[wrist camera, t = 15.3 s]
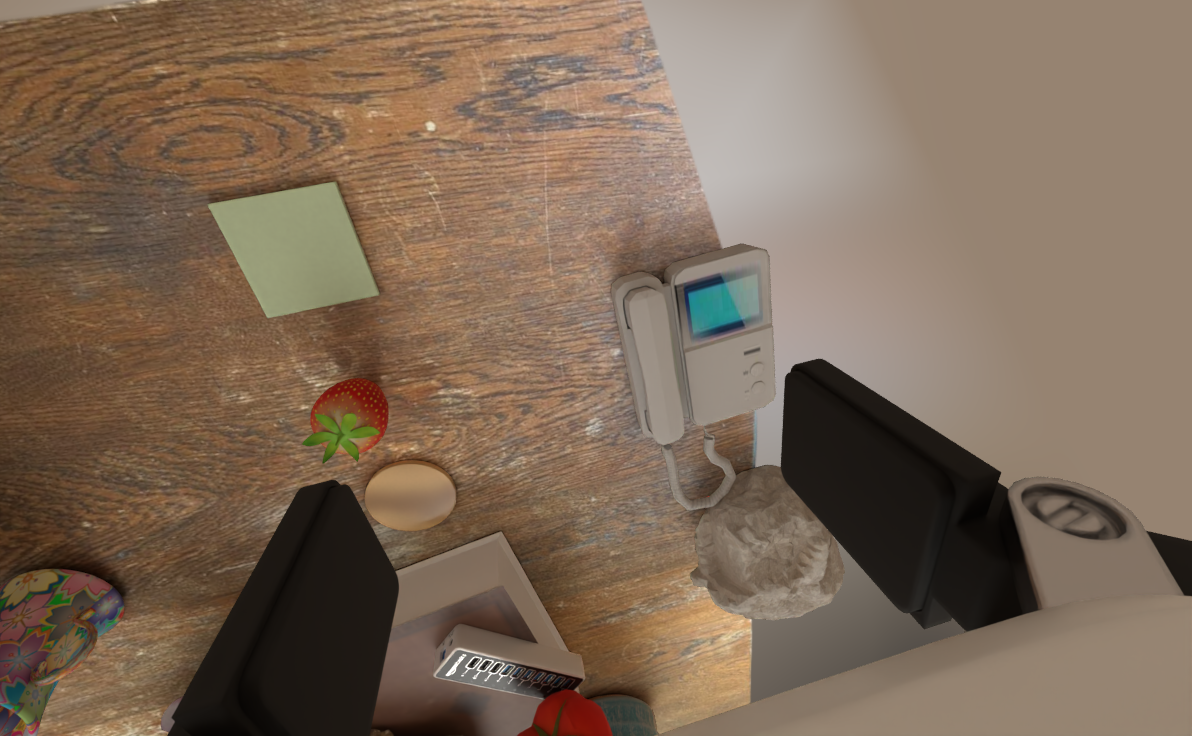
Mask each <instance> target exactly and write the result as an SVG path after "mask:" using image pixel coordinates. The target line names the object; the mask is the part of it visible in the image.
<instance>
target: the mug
mask: <svg viewBox="0 0 1192 736" xmlns="http://www.w3.org/2000/svg"><path fill="white" fill-rule="evenodd" d="M123 614H124V601H123V598H122V596H121V595H120V593H119V592H118V591H117V590H116V589H115V588H114V587H113V586H112V585H110V584H109V583H107V582H106V581H104V580H102V579H100V578H98V577H96V576H93V575H90V574H87V573H84V572H79V571H74V570H67V569H42V570H35V571H31V572H27V573H24V574H21V575H18V576H16V577H14V578H12V579H10V580H8V581H7V582H5V583H4V584H3V585H2V586H1V587H0V736H37V733H38V730H39V726H40V722H41V718H42V715H43V713H44V710H45V707H46V705H47V703H48V700H49V698H50V696H51V694H52V692H53V690H54V688H55V687H56V685H57V683H58V681H59V680H60V679H62V678H63V677H65V676H67V675H68V674H70V673H71V672H72V671H74V670H75V669H76V668H77V667H78V666H80V665H81V664H82V663H83V662H84V661H85V660H86V658H87V657H88V656H89V655H90V653H91V652H92V650H93V649H94V647H95V644H96V642H97V638H98V637H99V636H101V635H102V634H104V633H106V632H108V631H109V630H111V629H112V628H113V627H115V626H116V625H117V624H118V623H119V621H120V620H121V618H122V616H123Z"/></svg>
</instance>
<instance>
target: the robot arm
mask: <svg viewBox="0 0 1192 736" xmlns="http://www.w3.org/2000/svg"><path fill="white" fill-rule="evenodd" d="M781 472H782V475H783V478H784V480H785V481H786V483H787V484H788V485H789V486H790V488H791V489H792V490H793V491H794V492H795V493H796V494H797V495H798V497H799V498H800V499H801V500H802V501H803V502H804V503H805V505H806V506H807V507H808V508H809V509H810V510H811V511H812V512H813V514H814V515H815V516H816V517H817V518H818V519H819V520H820V522H821V523H822V524H823V525H824V526H825V527H826V528H827V529H828V531H829V532H830V533H831V534H832V535H833V536H834V537H835V539H836V540H837V541H838V542H839V543H840V544H841V545H842V546H843V548H844V549H845V550H846V551H847V552H848V553H849V554H850V555H851V557H852V558H853V559H854V560H855V561H856V562H857V563H858V565H859V566H860V567H861V568H862V569H863V570H864V571H865V572H866V574H867V575H868V576H869V577H870V578H871V579H872V580H873V582H874V583H875V584H876V585H877V586H878V587H879V588H880V589H881V591H882V592H883V593H884V594H885V595H886V596H887V597H888V599H890V601H891V602H892V603H893V604H894V605H895V606H896V607H897V608H898V609H899V610H900V611H902V612H904V613H910V614H911V615H912V616H913V617H914V618H915V620H916V621H917V622H918V623H919V624H920V625H921V626H922V627H923V628H924V629H927V628H930V627H933V626H936V625H938V624H942V623H945V622H948V621H951V619H952V618H953V619H955V621H956V622H957V623H958V624H959V625H960V626H961V627H962V628H963V629H964V633H962V634H959V635H956V636H953V637H950V638H946V639H943V640H940V641H936V642H933V643H930V644H927V645H924V646H921V647H918V648H915V649H912V650H910V651H906V652H903V653H900V654H897V655H895V656H891V657H888V658H885V659H882V660H879V661H876V662H873V663H870V664H867V665H864V666H861V667H858V668H855V669H852V670H849V671H846V672H843V673H840V674H838V675H834V676H831V677H828V678H825V679H822V680H819V681H816V682H813V683H810V684H807V685H804V686H801V687H798V688H795V689H792V690H789V691H786V692H783V693H780V694H777V695H774V696H771V697H768V698H765V699H763V700H760V701H757V702H753V703H750V704H747V705H744V706H741V707H738V708H735V709H733V710H730V711H727V712H724V713H721V714H718V715H715V716H712V717H709V718H706V719H703V720H700V721H697V722H694V723H691V724H688V725H685V726H682V727H679V728H676V729H673V730H670V731H667V732H665V733H662V734H659V735H656V736H1192V541H1188V540H1184V539H1180V538H1176V537H1171V536H1167V535H1162V534H1157V533H1153V532H1148V531H1146V530H1145V529H1144V527H1143V525H1142V524H1141V522H1140V521H1139V520H1138V519H1137V517H1136V516H1135V515H1134V514H1133V513H1132V512H1131V511H1130V510H1129V509H1128V508H1126V507H1125V506H1124V505H1122V504H1121V503H1119V502H1118V501H1117V500H1115V499H1113V498H1111V497H1109V496H1108V495H1105V494H1104V493H1102V492H1100V491H1098V490H1095V489H1093V488H1090V487H1087V486H1084V485H1082V484H1079V483H1076V482H1071V481H1067V480H1063V479H1058V478H1048V477H1032V478H1024V479H1021V480H1019V481H1016V482H1014V483H1013V485H1012V486H1011V487H1010V488H1009V489H1007V488H1006V487H1004V486H1003V485H1001V484H1000V483H998V480H999V477H1000V475H1001V472H1000V471H998V470H996V469H995V468H994V467H992V466H990V465H989V464H987V463H986V462H984V461H983V460H981V459H979V458H978V457H976V456H975V455H973V454H971V453H970V452H968V451H967V450H965V449H964V448H962V447H961V446H959V445H957V444H956V443H954V442H953V441H951V440H949V439H948V438H946V437H945V436H943V435H942V434H940V433H939V432H937V431H935V430H934V429H932V428H931V427H929V426H928V425H926V424H924V423H923V422H921V421H920V420H918V419H916V418H915V417H913V416H911V415H910V414H909V413H907V412H906V411H904V410H902V409H901V408H899V407H898V406H896V405H895V404H893V403H891V402H890V401H888V400H887V399H885V398H883V397H882V396H880V395H879V394H877V393H876V392H874V391H873V390H871V389H869V388H868V387H866V386H865V385H863V384H862V383H860V382H858V381H857V380H855V379H854V378H852V377H850V376H849V375H847V374H846V373H844V372H843V371H841V370H839V369H838V368H836V367H835V366H833V365H832V364H830V363H828V362H827V361H825V360H823V359H816V360H811V361H808V362H803V363H800V364H795V365H794V366H793V367H792V369H791V372H790V373H788V374H787V375H786V377H785V389H784V410H783V432H782V453H781ZM398 594H399V581H398V576H397V574H396V572H395V570H394V568H393V566H392V564H391V562H390V561H389V559H388V557H387V555H386V553H385V551H384V549H383V548H382V546H381V544H380V542H379V540H378V538H377V536H376V534H375V533H374V531H373V529H372V527H371V525H370V523H369V521H368V520H367V518H366V516H365V514H364V512H363V510H362V508H361V507H360V505H359V503H358V501H357V499H356V497H355V495H354V493H353V492H352V490H351V488H350V487H349V486H348V485H345V484H344V485H340V484H339V483H338V482H337V481H336V480H330V481H326V482H322V483H318V484H314V485H310V486H306V487H303V488H301V489H300V490H299V491H298V492H297V494H296V495H295V497H294V499H293V501H292V503H291V504H290V506H289V508H288V510H287V511H286V513H285V515H284V517H283V519H282V520H281V522H280V524H279V526H278V528H277V529H276V531H275V533H274V535H273V537H272V538H271V540H270V542H269V544H268V545H267V547H266V549H265V551H264V553H263V554H262V556H261V558H260V560H259V562H258V563H257V565H256V567H255V569H254V571H253V572H252V574H251V576H250V578H249V579H248V581H247V583H246V585H245V587H244V588H243V590H242V592H241V594H240V596H239V597H238V599H237V601H236V603H235V604H234V606H233V608H232V610H231V612H230V613H229V615H228V617H227V619H226V621H225V622H224V624H223V626H222V628H221V630H220V631H219V633H218V635H217V637H216V638H215V640H214V642H213V644H212V646H211V647H210V649H209V651H208V653H207V655H206V656H205V658H204V660H203V662H202V664H201V665H200V667H199V669H198V671H197V672H196V674H195V676H194V678H193V680H192V681H191V683H190V685H189V687H188V689H187V690H186V692H185V694H184V696H183V697H182V699H181V701H180V703H179V705H178V706H177V708H176V710H175V712H174V714H173V715H172V717H171V718H172V719H173V720H174V721H175V722H174V724H173V726H172V728H171V730H170V731H169V733H168V735H167V736H370V731H371V726H372V721H373V716H374V711H375V706H376V701H377V697H378V692H379V687H380V682H381V677H382V672H383V667H384V662H385V658H386V653H387V648H388V643H389V638H390V633H391V628H392V623H393V619H394V614H395V609H396V604H397V599H398Z"/></svg>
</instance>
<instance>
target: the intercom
mask: <svg viewBox="0 0 1192 736" xmlns="http://www.w3.org/2000/svg"><path fill="white" fill-rule="evenodd" d="M664 283H665V284H661V282H660V280H659V279H658V278H656V277H654V276H653V275H651V274H649V273H645V272H641V271H640V272H637V273H633V274H629V275H626V276H622V277H619V278H618V279H617V280H616V281H615V282H614V283H613V284H612V287H611V295H612V300H613V305H614V310H615V315H616V319H617V324H618V329H619V334H620V338H621V343H622V348H623V353H624V358H625V362H626V367H627V372H628V377H629V381H630V386H631V391H632V396H633V401H634V405H635V410H636V415H637V420H638V423H639V425H640V428H641V430H642V432H643V434H644V435H645V437H646V438H654V439H655V441H656V443H658V444H662V445H661V446H662V448H661V451H662V453H663V455H664V458H665V460H666V465H667V472H668V478H669V485H670V488H671V490H672V493H673V496H674V498H675V500H676V501H677V502H679V503H680V504H681V505H682V506H683V507H684V508H686V509H687V510H695V509H701V508H707V507H713V506H714V505H716V504H717V503H718V502H719V501H720V500H721V499H722V498H723V497H724V496H725V495H726V494H727V493H729V491H730V489H731V487H732V485H733V483H734V481H735V479H736V474H735V472H734V470H733V467H732V465H731V463H730V461H729V459H727V458H725V457H722V456H720V455H718V453H717V452H716V450H715V449H714V443H715V435H713V434H709V433H707V431H706V430H705V425H708V424H712V423H715V422H718V421H721V420H724V419H728V418H731V417H734V416H737V415H740V414H744V413H747V412H750V411H753V410H756V409H760V408H763V407H765V406H766V405H768V404H769V403H770V402H772V401H773V400H774V398H775V394H776V391H775V364H774V340H773V326H772V309H771V286H770V285H771V284H770V260H769V255H768V252H767V250H765V249H761V248H758V247H754V246H750V245H746V244H738V245H735V246H731V247H727V248H724V249H720V250H716V251H713V252H709V253H705V254H702V255H698V256H695V257H691V258H687V259H684V260H680V261H676V262H673V263H672V264H671V265H670V266H669V267H667V268H666V269H665V273H664ZM686 417H689V418H690V420H691V421H692V423H693V424H695V425H703V426H704V430H703V431H704V433H705V434H706V435H705V436H704V445H703V451H704V452H705V454H706V455H707V457H708V459H709V460H710V462H711V463H713V464H715V465H717V466H720V467H722V469H723V471H724V473H725V475H726V476H725V478H724V479H723V481H722V483H721V485H720V487H719V488H718V489H717V490H716V491H715V492H714V493H712V494H711V495H710V496H709V497H706V498H699V499H693V500H690V499H689V498H687V497H686V496H685V495H684V494H683V491H682V488H681V485H680V481H679V475H678V468H677V461H676V456H675V454H674V451H673V449H672V446H671V445H670V444H669V443H672V442H675V441H677V440H678V439H679V438H680V437H681V436H683V435H684V419H683V418H686ZM665 444H666V445H665ZM663 445H664V446H663Z"/></svg>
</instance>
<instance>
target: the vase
mask: <svg viewBox="0 0 1192 736" xmlns="http://www.w3.org/2000/svg"><path fill="white" fill-rule="evenodd" d="M588 700H591V701H594V702H595V703H596V704H597V705H599V706H600V707H601V709H602V710H603V712H604V714H605V716H606V718H607V721H608V723H609V726H610V728H611V731H612V735H613V736H656V735H659V733H658V731H657V724H656V720H655V715H654V713H653V710H652V709H651V707H650V706H649V705H648V704H647V703H645V702H644V701H642V700H640V699H638V698H635V697H631V696H628V695H622V694H609V695H602V696H597V697H594V698H590V699H588Z"/></svg>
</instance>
